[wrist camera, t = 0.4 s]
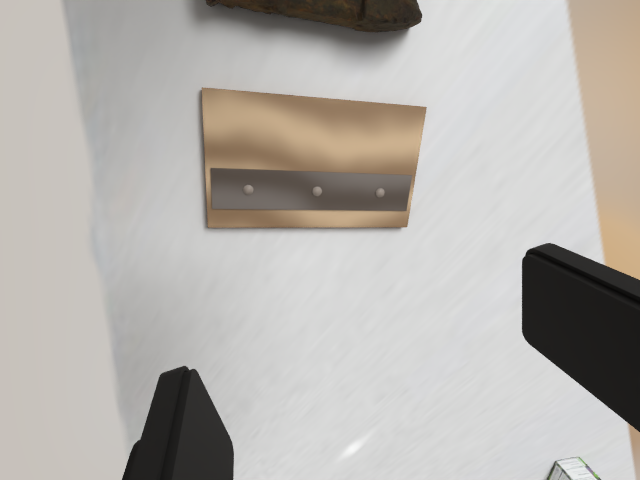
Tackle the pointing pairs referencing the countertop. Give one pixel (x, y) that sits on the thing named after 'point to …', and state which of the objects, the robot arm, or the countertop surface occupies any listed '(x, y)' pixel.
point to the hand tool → (340, 12)
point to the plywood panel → (308, 160)
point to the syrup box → (572, 470)
